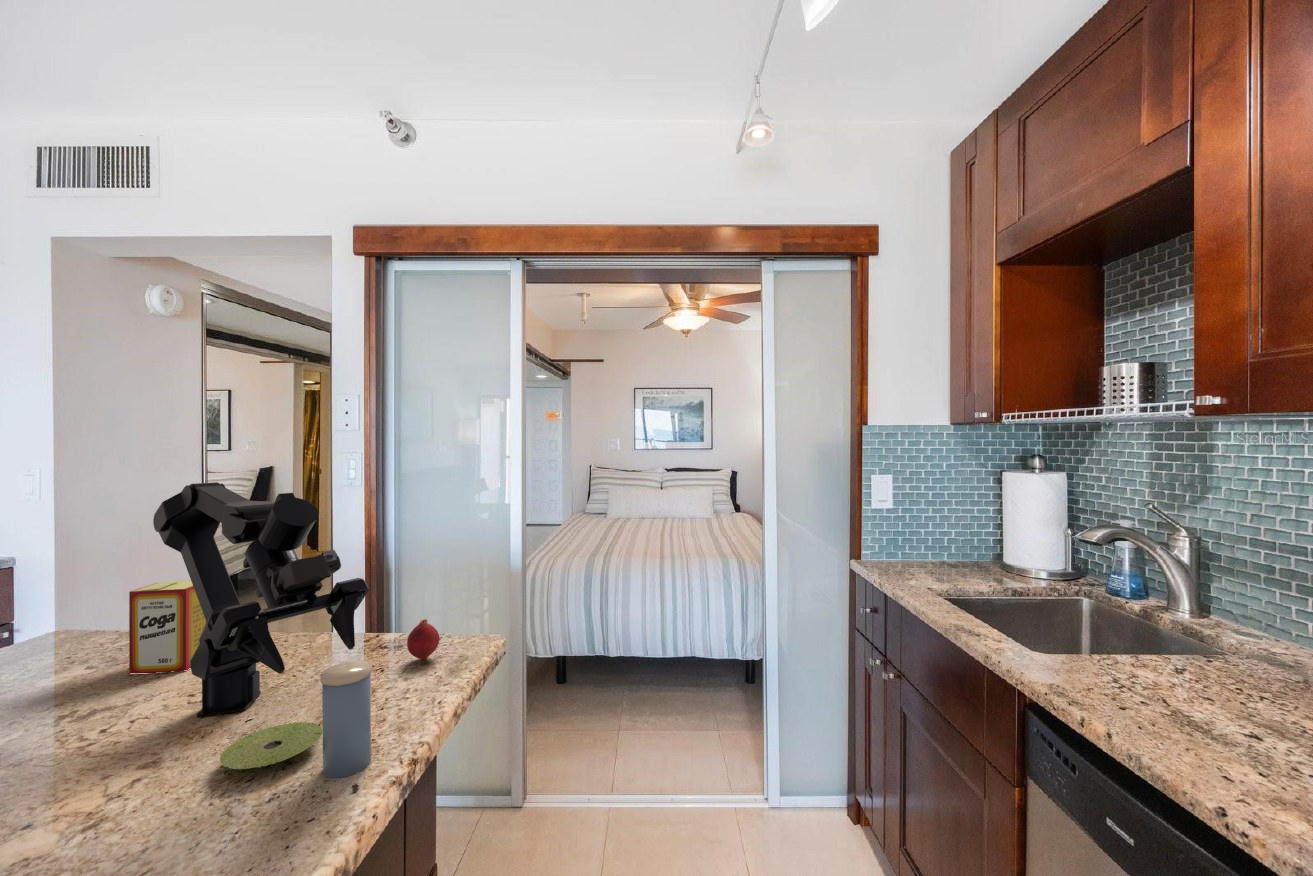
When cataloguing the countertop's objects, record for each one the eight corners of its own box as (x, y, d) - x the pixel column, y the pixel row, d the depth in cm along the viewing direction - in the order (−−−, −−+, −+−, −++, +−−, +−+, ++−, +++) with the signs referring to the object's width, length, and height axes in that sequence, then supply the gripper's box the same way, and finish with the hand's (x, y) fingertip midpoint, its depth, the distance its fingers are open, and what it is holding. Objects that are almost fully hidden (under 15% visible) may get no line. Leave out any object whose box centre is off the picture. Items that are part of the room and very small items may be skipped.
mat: (244, 742, 76) (244, 728, 76) (333, 729, 79) (332, 716, 79) (200, 791, 65) (200, 775, 65) (305, 774, 68) (305, 759, 68)
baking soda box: (209, 657, 107) (209, 578, 107) (186, 671, 101) (185, 587, 101) (156, 661, 106) (156, 581, 106) (129, 675, 99) (129, 589, 99)
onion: (427, 667, 101) (426, 625, 101) (400, 665, 102) (400, 623, 102) (445, 655, 106) (444, 615, 107) (419, 653, 108) (419, 613, 108)
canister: (315, 783, 66) (314, 682, 66) (329, 757, 72) (328, 664, 72) (366, 774, 68) (366, 675, 68) (376, 749, 73) (375, 658, 74)
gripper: (219, 546, 68) (261, 647, 62) (361, 526, 84) (406, 605, 79) (193, 600, 72) (231, 700, 66) (334, 571, 88) (374, 649, 82)
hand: (319, 659), depth 73 cm, fingers open, 9 cm apart
